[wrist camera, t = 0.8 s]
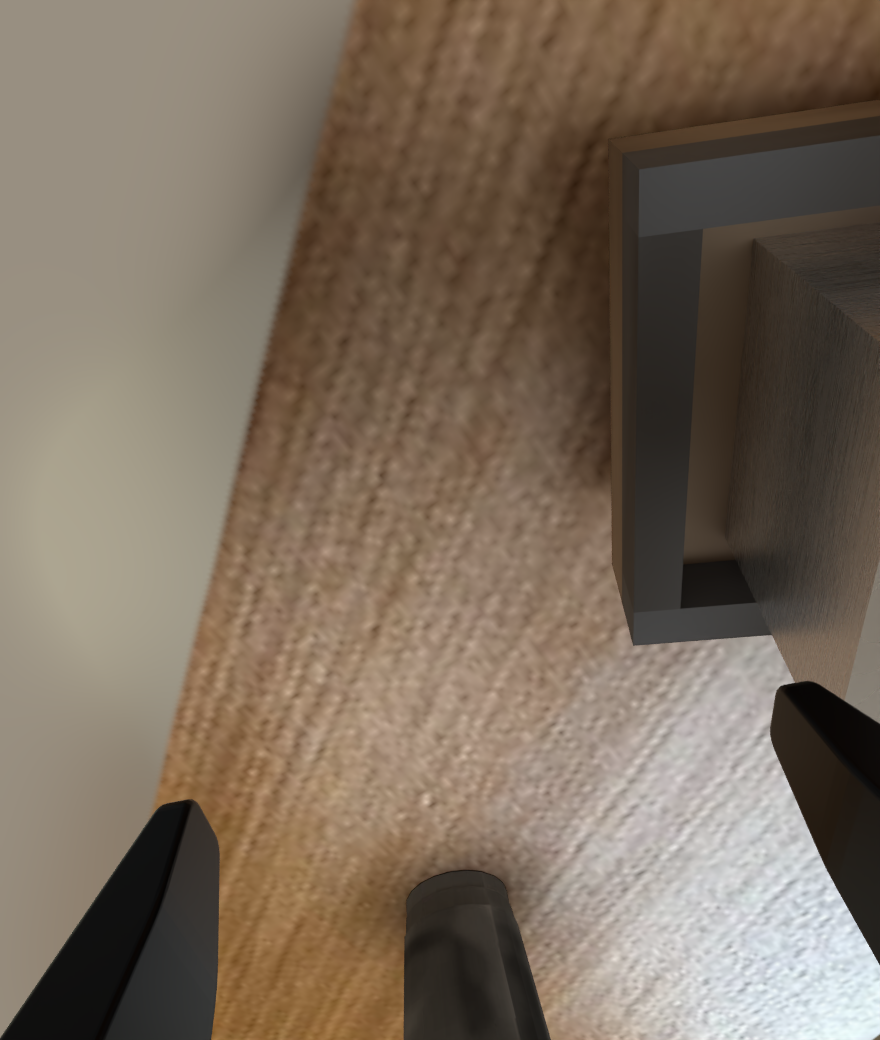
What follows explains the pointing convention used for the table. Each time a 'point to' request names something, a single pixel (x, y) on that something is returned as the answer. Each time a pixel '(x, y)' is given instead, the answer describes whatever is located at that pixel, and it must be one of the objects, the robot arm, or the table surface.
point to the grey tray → (704, 338)
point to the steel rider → (813, 455)
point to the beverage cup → (467, 964)
